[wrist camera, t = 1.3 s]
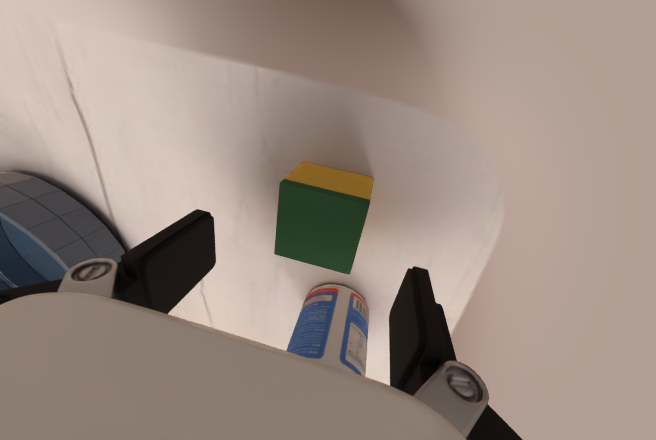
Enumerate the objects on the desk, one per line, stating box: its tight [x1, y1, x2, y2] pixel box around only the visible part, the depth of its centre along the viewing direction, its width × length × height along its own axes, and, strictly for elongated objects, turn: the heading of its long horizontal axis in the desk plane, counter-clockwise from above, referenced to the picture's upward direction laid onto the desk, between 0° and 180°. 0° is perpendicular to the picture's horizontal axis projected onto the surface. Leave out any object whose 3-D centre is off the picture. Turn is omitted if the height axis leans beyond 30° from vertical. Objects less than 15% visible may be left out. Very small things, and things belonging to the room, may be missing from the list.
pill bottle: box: [287, 284, 369, 377], centre depth 17 cm, size 6×5×10 cm
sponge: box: [274, 162, 373, 274], centre depth 15 cm, size 4×4×4 cm
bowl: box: [0, 172, 125, 291], centre depth 23 cm, size 16×16×4 cm
